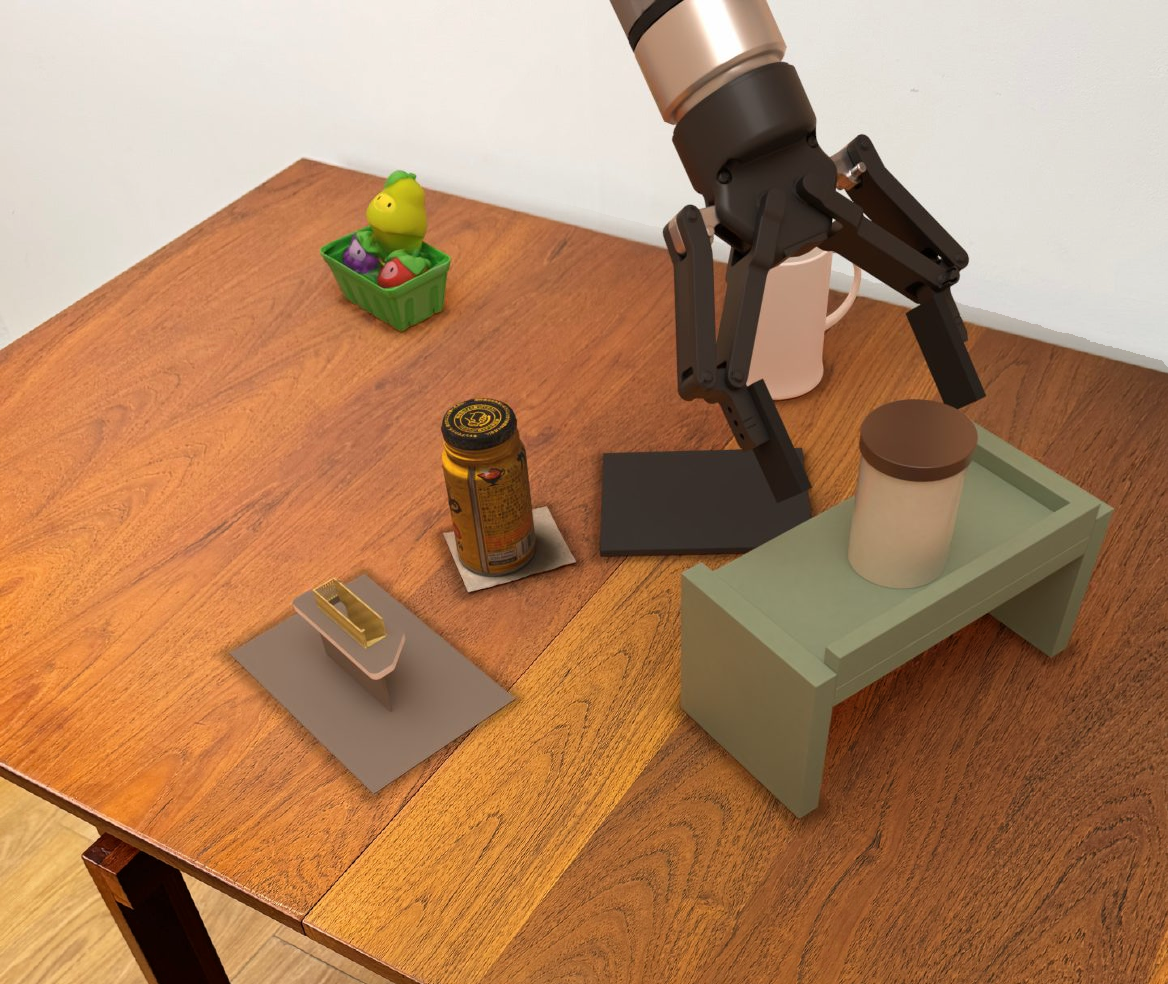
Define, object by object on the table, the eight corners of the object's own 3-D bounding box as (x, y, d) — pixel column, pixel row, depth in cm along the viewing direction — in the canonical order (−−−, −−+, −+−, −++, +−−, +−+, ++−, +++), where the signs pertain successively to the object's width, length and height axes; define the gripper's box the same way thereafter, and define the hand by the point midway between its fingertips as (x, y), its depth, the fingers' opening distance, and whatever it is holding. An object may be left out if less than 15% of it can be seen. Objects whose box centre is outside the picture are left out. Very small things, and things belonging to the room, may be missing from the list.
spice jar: (942, 520, 79) (968, 396, 72) (958, 590, 75) (987, 466, 68) (839, 523, 79) (855, 400, 72) (849, 592, 75) (867, 469, 68)
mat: (801, 453, 101) (802, 447, 101) (814, 551, 94) (814, 545, 93) (603, 458, 102) (603, 452, 102) (600, 556, 95) (599, 550, 94)
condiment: (443, 535, 97) (418, 401, 88) (547, 507, 99) (533, 373, 89) (468, 594, 93) (445, 460, 83) (576, 565, 94) (566, 430, 85)
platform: (364, 573, 95) (346, 504, 90) (515, 698, 86) (505, 629, 81) (228, 653, 90) (202, 584, 85) (373, 794, 81) (353, 726, 76)
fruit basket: (326, 299, 120) (298, 181, 111) (399, 263, 124) (378, 146, 115) (398, 344, 115) (375, 223, 106) (472, 305, 118) (456, 185, 109)
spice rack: (939, 557, 92) (972, 402, 82) (1066, 648, 86) (1120, 491, 76) (679, 707, 85) (680, 556, 74) (799, 819, 78) (817, 671, 68)
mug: (835, 329, 112) (850, 196, 103) (874, 381, 107) (893, 246, 98) (710, 355, 111) (713, 223, 101) (743, 409, 105) (750, 274, 96)
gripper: (857, 67, 77) (992, 388, 81) (519, 197, 69) (685, 549, 72) (933, -6, 70) (1077, 350, 74) (567, 130, 62) (749, 523, 66)
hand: (883, 449), depth 73 cm, fingers open, 13 cm apart
